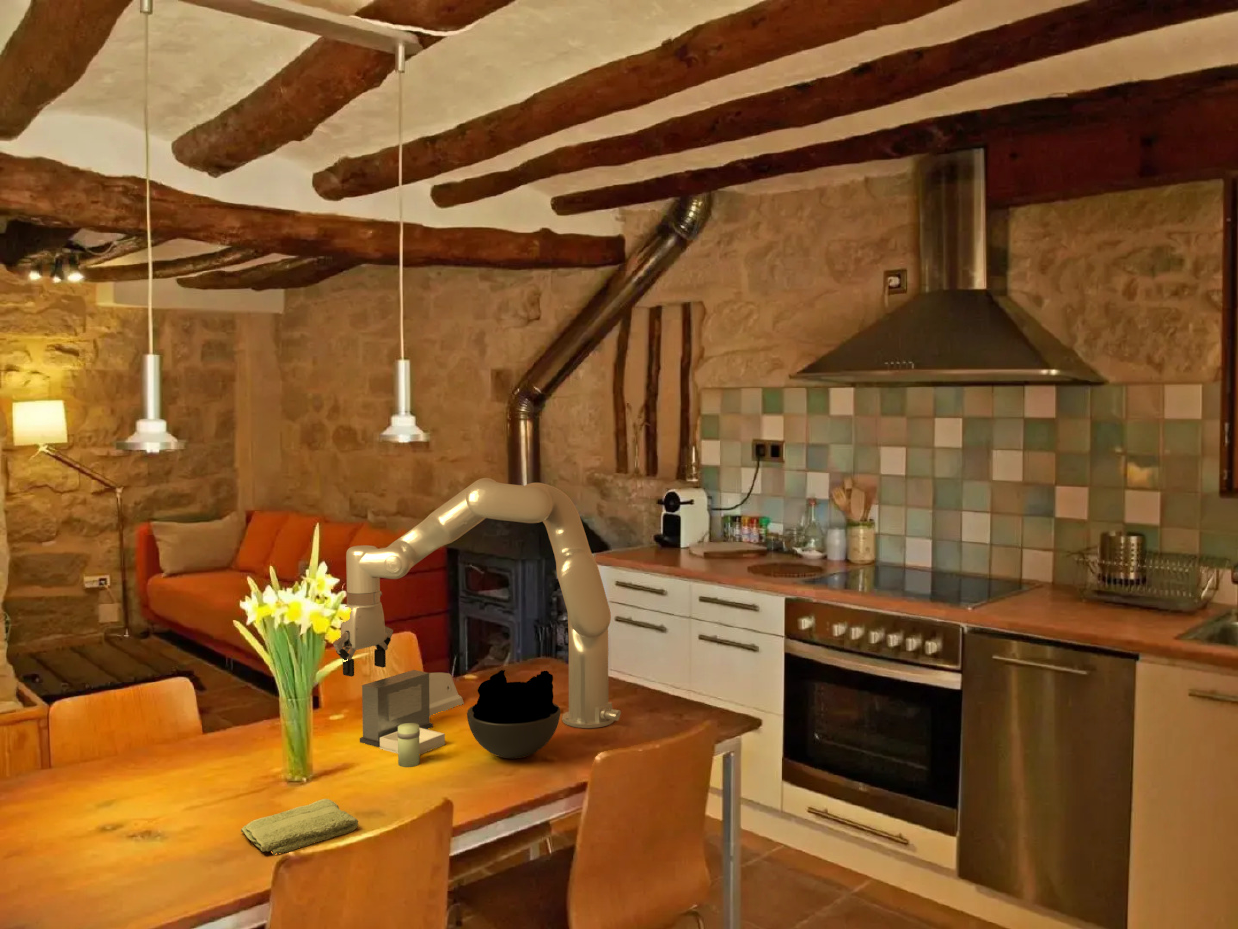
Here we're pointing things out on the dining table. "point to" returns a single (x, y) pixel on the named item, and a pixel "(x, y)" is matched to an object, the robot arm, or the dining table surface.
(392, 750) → the parts tray
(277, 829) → the washcloth
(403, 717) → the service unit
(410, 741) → the olive green jar
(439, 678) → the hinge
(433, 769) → the dining table surface
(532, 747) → the coal bowl
